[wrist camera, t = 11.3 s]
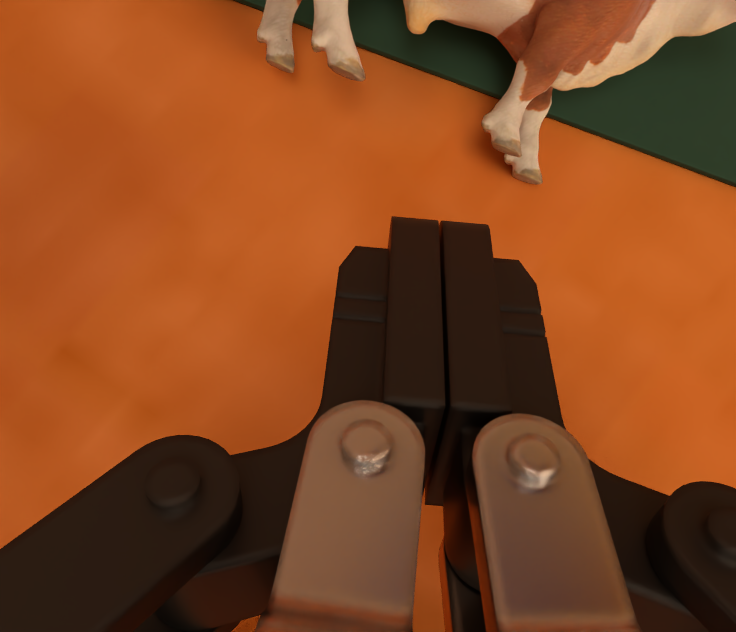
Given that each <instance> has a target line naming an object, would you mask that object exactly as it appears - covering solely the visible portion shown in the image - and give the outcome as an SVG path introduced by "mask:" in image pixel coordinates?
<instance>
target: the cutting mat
mask: <svg viewBox="0 0 736 632" xmlns="http://www.w3.org/2000/svg"><path fill="white" fill-rule="evenodd" d="M234 1H237V2H239V3H242V4H245V5H248V6H250V7H253V8H256V9H258V10H261V11H264V9H265V5H266V0H234ZM348 16H349V23H350V29H351V33H352V36H353V40H354V43H355V46H358V47H361V48H363V49H366V50H369V51H371V52H374V53H377V54H379V55H382V56H385V57H387V58H390V59H393V60H396V61H398V62H401V63H404V64H406V65H409V66H412V67H414V68H417V69H420V70H422V71H425V72H428V73H431V74H433V75H436V76H439V77H441V78H444V79H447V80H449V81H452V82H455V83H457V84H460V85H463V86H465V87H468V88H471V89H474V90H476V91H479V92H482V93H484V94H487V95H490V96H492V97H495V98H498V99H501V98H502V97H503V96H504V94H505V93H506V92H507V90H508V89H509V87H510V84H511V82H512V79H513V77H514V73H515V70H516V65H517V63H516V62H515V61H514V60H513V58H512V56H511V55H510V53H509V52H508V50H507V49H506V48H505V47H504V46H503V45H502V43H501V42H500V41H499V40H498V39H497V38H496V37H494V36H493V35H491V34H489V33H486V32H482V31H479V30H474V29H470V28H466V27H462V26H458V25H454V24H452V23H449V22H447V21H444V20H434V21H433V22H431V23H430V24H429V25H428V27H427V30H426V31H425V32H424V33H423V34H413V33H412V32H411V31H409V29H408V27H407V21H406V12H405V7H404V3H403V0H348ZM293 23H296V24H299V25H301V26H304V27H307V28H309V29H312V30H313V24H314V1H313V0H302V1H301V3H300V4H299V6H298V8H297V10H296V12H295V14H294V18H293ZM551 100H552V103H551V106H550V108H549V111H548V113H547V115H546V117H549V118H552V119H554V120H557V121H560V122H562V123H565V124H568V125H570V126H573V127H576V128H578V129H581V130H584V131H587V132H589V133H592V134H595V135H597V136H600V137H603V138H605V139H608V140H611V141H613V142H616V143H619V144H622V145H624V146H627V147H630V148H632V149H635V150H638V151H640V152H643V153H646V154H648V155H651V156H654V157H657V158H659V159H662V160H665V161H667V162H670V163H673V164H675V165H678V166H681V167H683V168H686V169H689V170H691V171H694V172H697V173H700V174H702V175H705V176H708V177H710V178H713V179H716V180H718V181H721V182H724V183H726V184H729V185H732V186H735V187H736V22H733V23H731V24H729V25H727V26H724V27H722V28H720V29H717V30H715V31H712V32H710V33H707V34H704V35H701V36H678V37H673V38H671V39H670V40H669V41H667V42H666V43H665V44H664V45H663V46H662V47H661V48H660V49H659V50H658V51H657V52H656V53H655V54H654V55H653V56H652V57H651V58H650V59H648V60H647V61H645V62H644V63H642V64H640V65H638V66H636V67H635V68H633V69H631V70H629V71H627V72H625V73H623V74H620V75H615V76H612V77H609V78H607V79H606V80H604V81H603V82H602V83H600V84H598V85H596V86H594V87H580V88H574V89H571V90H568V91H560V90H557V89H554V88H553V90H552V98H551Z"/></svg>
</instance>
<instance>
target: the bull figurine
mask: <svg viewBox="0 0 736 632" xmlns="http://www.w3.org/2000/svg"><path fill="white" fill-rule="evenodd" d="M301 1H302V0H266V5H265V9H264V13H263V17H262V20H261V23H260V26H259V28H258V31H257V39H258V41H259V42H260V43H266V44H267V55H266V60H267V62H268V63H269V64H270V65H272V66H274V67H276V68H278V69H280V70H283V71H286V72H288V73H293V72H294V51H293V43H292V23H293V18H294V14H295V12H296V10H297V8H298V6H299V4H300V3H301ZM313 1H314V24H313V34H312V48H313V50H314V52H320V51H325V52H326V53H327V59H328V66H329V67H330V68H331V69H332V70H333V71H334V72H336V73H337V74H339V75H341V76H343V77H346V78H348V79H351V80H356V81H363V80H365V73H364V69H363V67H362V65H361V61H360V57H359V54H358V51H357V49H356V46H355V43H354V40H353V36H352V33H351V29H350V23H349V16H348V0H313ZM403 3H404V7H405V12H406V21H407V27H408V29H409V31H411V32H412V33H413V34H423V33H424V32H425V31H426V30H427V27H428V25H429V24H430V23H431V22H433V21H434V20H444V21H447V22H449V23H452V24H454V25H458V26H462V27H466V28H470V29H474V30H479V31H482V32H486V33H489V34H491V35H493V36H494V37H496V38H497V39H498V40H499V41H500V42H501V43H502V45H503V46H504V47H505V48H506V49H507V50H508V52H509V53H510V55H511V56H512V58H513V60H514V61H515V62H516V63H517V65H516V70H515V73H514V77H513V79H512V82H511V84H510V87H509V89H508V90H507V92H506V93H505V94H504V96H503V97H502V98H501V99H500V100H499V102H498V103H497V104H496V105H495V107H494V108H493V110H492V111H491V112H490V113H488V114H486V115H485V116H484V117H483V120H482V127H483V130H484V131H485V132H487V133H490V134H491V137H492V145H493V147H494V148H495V149H496V150H498V151H500V152H503V153H505V155H504V161H505V163H506V164H511V165H512V166H513V169H512V176H513V177H515V178H516V179H518V180H521V181H524V182H527V183H532V184H542V175H541V172H540V169H539V164H538V150H539V129H540V126H541V123H542V121H543V119H544V118H545V116H546V115H547V113H548V111H549V108H550V106H551V103H552V100H551V98H552V90H553V88H554V89H557V90H560V91H568V90H571V89H574V88H580V87H594V86H596V85H598V84H600V83H602V82H603V81H604V80H606V79H607V78H609V77H612V76H615V75H620V74H623V73H625V72H627V71H629V70H631V69H633V68H635V67H636V66H638V65H640V64H642V63H644V62H645V61H647V60H648V59H650V58H651V57H652V56H653V55H654V54H655V53H656V52H657V51H658V50H659V49H660V48H661V47H662V46H663V45H664V44H665V43H666V42H667V41H669V40H670V39H671V38H673V37H678V36H701V35H704V34H707V33H710V32H712V31H715V30H717V29H720V28H722V27H724V26H727V25H729V24H731V23H733V22H736V0H403Z"/></svg>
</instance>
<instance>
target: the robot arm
mask: <svg viewBox="0 0 736 632" xmlns="http://www.w3.org/2000/svg"><path fill="white" fill-rule="evenodd" d="M424 488H425V505H437V506H443V514H444V536H443V540H442V543H441V546H440V549H439V555H438V556H439V573H440V583H441V593H442V603H443V613H444V623H445V632H736V489H735V488H733V487H730V486H727V485H724V484H720V483H715V482H704V481H700V482H692V483H689V484H686V485H683V486H681V487H680V488H678V489H677V490H675V491H674V492H673V493H672V494H671V496H668V495H665V494H663V493H660V492H658V491H655V490H652V489H650V488H647V487H644V486H642V485H639V484H636V483H634V482H631V481H628V480H626V479H623V478H621V477H618V476H616V475H614V474H612V473H609V472H608V471H606V470H604V469H602V468H601V467H599V466H598V465H596V464H595V463H594V462H592V461H591V460H589V459H588V458H587V455H586V453H585V452H584V450H583V448H582V447H581V445H580V444H579V443H578V441H577V440H576V439H575V438H574V437H573V436H572V435H571V434H570V433H569V432H568V431H566V429H565V426H564V423H563V420H562V416H561V411H560V405H559V400H558V395H557V390H556V385H555V379H554V374H553V369H552V364H551V358H550V353H549V348H548V343H547V337H545V327H544V322H543V316H542V315H541V306H540V301H539V296H538V290H537V285H536V283H535V282H534V280H533V279H532V278H531V276H530V275H529V274H528V272H527V271H526V270H525V268H524V267H523V265H522V264H521V263H520V261H519V260H511V259H500V258H493V252H492V244H491V236H490V229H489V226H488V225H486V224H474V223H463V222H452V221H441V222H440V225H439V223H438V220H427V219H416V218H404V217H393V216H392V218H391V225H390V234H389V242H388V249H384V248H373V247H361V246H355V247H354V249H353V250H352V251H351V253H350V254H349V255H348V256H347V258H346V259H345V260H344V262H343V263H342V264H341V265H340V267H339V272H338V280H337V288H336V297H335V303H334V310H333V319H332V325H331V333H330V341H329V348H328V356H327V363H326V371H325V378H324V386H323V394H322V399H321V404H320V407H319V409H318V411H317V413H316V415H315V416H314V418H313V420H312V421H311V422H310V423H309V424H308V425H307V427H306V428H305V429H303V430H302V431H301V432H300V433H298V434H297V435H296V436H294V437H292V438H291V439H289V440H287V441H285V442H282V443H280V444H278V445H274V446H271V447H267V448H263V449H258V450H253V451H248V452H244V453H239V454H234V455H229V454H228V452H227V451H226V450H225V449H224V448H222V447H221V446H220V445H218V444H217V443H215V442H213V441H211V440H209V439H206V438H202V437H199V436H192V435H176V436H169V437H165V438H162V439H158V440H155V441H153V442H151V443H149V444H147V445H145V446H143V447H142V448H140V449H138V450H137V451H135V452H134V453H133V454H131V455H130V456H128V457H127V458H126V459H124V460H123V461H122V462H120V463H119V464H117V465H116V466H115V467H113V468H112V469H110V470H109V471H108V472H106V473H105V474H104V475H102V476H101V477H99V478H98V479H97V480H95V481H94V482H92V483H91V484H90V485H88V486H87V487H86V488H84V489H83V490H81V491H80V492H79V493H77V494H76V495H75V496H73V497H72V498H70V499H69V500H68V501H66V502H65V503H63V504H62V505H61V506H59V507H58V508H57V509H55V510H54V511H52V512H51V513H50V514H48V515H47V516H45V517H44V518H43V519H41V520H40V521H39V522H37V523H36V524H34V525H33V526H32V527H30V528H29V529H28V530H26V531H25V532H23V533H22V534H21V535H19V536H18V537H16V538H15V539H14V540H12V541H11V542H10V543H8V544H7V545H5V546H4V547H3V548H1V549H0V632H231V631H232V630H233V629H234V628H235V627H236V626H237V625H238V624H239V623H240V621H241V620H244V619H247V618H251V617H255V616H258V615H261V616H260V618H259V620H258V623H257V626H256V628H255V632H413V631H412V621H413V604H414V592H415V579H416V566H417V554H418V541H419V528H420V516H421V503H422V496H423V492H424Z"/></svg>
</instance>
